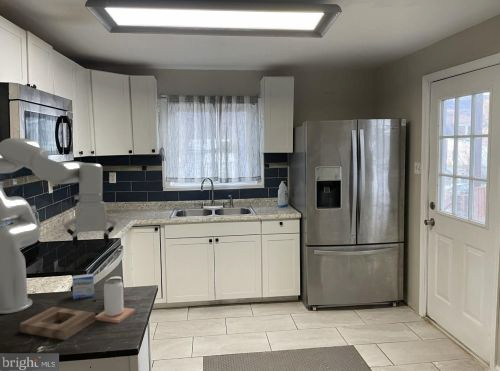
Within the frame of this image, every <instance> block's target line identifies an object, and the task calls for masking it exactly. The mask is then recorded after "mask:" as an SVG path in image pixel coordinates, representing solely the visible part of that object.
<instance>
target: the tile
mask: <svg viewBox="0 0 500 371" xmlns="http://www.w3.org/2000/svg"><path fill="white" fill-rule="evenodd" d="M134 313H136V309H135V308H129V307H124V311H123V313H122V314H120V315H118V316H107V315H106V314H105V310H103V311H102V312H99V314H97V315H95V321H101V322H108V323H114V324H120V323H121V322H123V321H124V320H126V319H127V318H129V317H131V315H133V314H134Z"/></svg>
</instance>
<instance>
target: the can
mask: <svg viewBox="0 0 500 371" xmlns="http://www.w3.org/2000/svg"><path fill="white" fill-rule="evenodd" d="M123 293H124V284H123V282H122V281H121V279H119V278H113V279H109V278H108V279H106V280H105V281H104V285H103V302H104V311H105V314H106V315H107V316H118V315H120V314H122V313H123V311H124V308H125V307H124V302H123Z"/></svg>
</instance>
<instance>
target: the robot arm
mask: <svg viewBox="0 0 500 371" xmlns="http://www.w3.org/2000/svg"><path fill="white" fill-rule="evenodd" d="M22 168H26V169H30V170H31V171H32V173H33V174H34V175H35V176H36V177H37V178H39V179H41V180H43V181H47V182H49V183H52V184H55V185H66V184H75V183H78V184H79V185H78V186H79V187H78V188H79V189H78V190H79V191H78V194H77V195H74V200H77V201H78V202H77V203H76V206H75V207H76V208H75V209H76V210H75V216H74V218H73V219H71V220H69V221H67V222H65V223H64V224H63V227H64V229H65V230H66V232H67V233H68V234H69V235H70V236H71V237H72V246H74V248H75V249H78V244H79V242H78V241H79V240H78V234H79V233H86V232H88V233H89V232H101V231H103V232H104V233H103V245H104V247H105V246H106V247H107V245H108V243H110V242H109V237H110V236H109V235H110V234H111V233H112V232H113V231H114V229H115V227H116V226H117V224H118V223H117V221H116V220H114V219H111V218H109V217H108V216H107V215H108V214H107V208H106V203H105V201H103V177H104V176H103V166H102V165H101V164H100V163H93V162H91V163H90V162H82V161H56V160H53V159H50V158H49V153H48V151H47V150H46V149H44V148H43V147H41V146H40V144H39V143H38V142H37V141H35V140H34V139H31V138H19V137H18V138H17V137H15V138H14V137H12V138H11V137H10V138H6V139H3V140H2V141H0V174H2V175H3V174H10V173H14V172H17V171H19V170H21V169H22ZM11 222H12V224H8V225H4V226H1V227H0V314H13V313H19V312H21V311H24V310H26V309H28V308H30V307H31V306H32V305H33V300H32V298H28V286H27V283H28V282H27V268H26V258H25V256H24V254H23V253H22V251H21V250H20V249H22V248H25V247H28V246H31V245H34V244H35V243H37V242H38V241H39V240H40V236H41V230H40V227H39V224H38V222H37V219H36V217H35V215H34V212H33V209H32V208H31V205H30V204H29V202H28V201H27V200H26V199H25V198H23V197H21V196H15V195H14V196H10V197H9V196H7V195H6V193H5V191H4V188H3V186H2V185H1V183H0V225H1V224H6V223H11ZM108 223H109V224H110V226H109V227H108ZM72 225H74V227H75V228H74V230H72V229H71V228H70V226H72ZM107 227H108V228H107Z"/></svg>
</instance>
